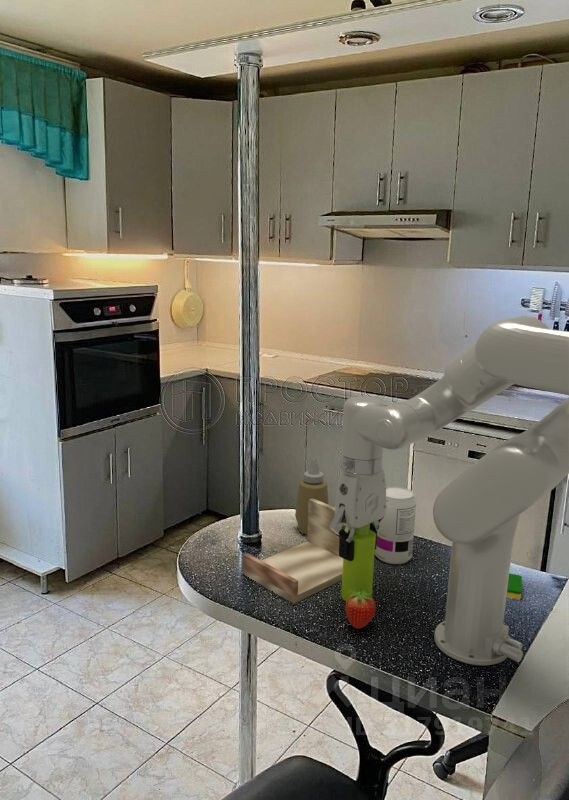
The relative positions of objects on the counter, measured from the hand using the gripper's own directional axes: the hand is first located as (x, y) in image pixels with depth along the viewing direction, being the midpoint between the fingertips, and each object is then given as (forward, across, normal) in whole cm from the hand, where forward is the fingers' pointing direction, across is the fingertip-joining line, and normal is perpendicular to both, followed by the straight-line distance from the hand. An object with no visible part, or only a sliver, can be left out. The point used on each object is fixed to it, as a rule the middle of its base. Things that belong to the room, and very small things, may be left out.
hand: (357, 552), depth 126 cm
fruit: (+10, -8, -8) cm, 15 cm away
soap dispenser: (+9, 0, 0) cm, 9 cm away
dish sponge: (+10, +23, -15) cm, 29 cm away
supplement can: (+9, +19, +5) cm, 22 cm away
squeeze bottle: (+9, +15, +26) cm, 32 cm away
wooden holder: (+9, -1, +13) cm, 16 cm away
